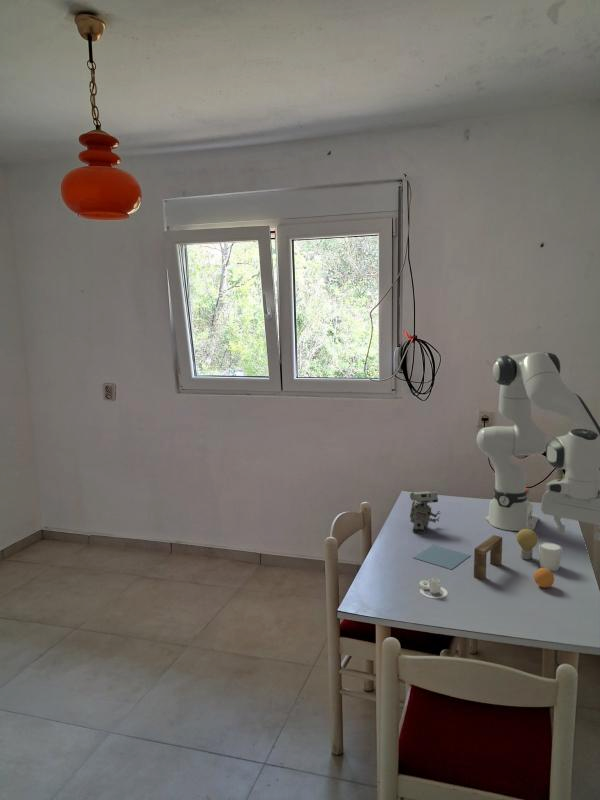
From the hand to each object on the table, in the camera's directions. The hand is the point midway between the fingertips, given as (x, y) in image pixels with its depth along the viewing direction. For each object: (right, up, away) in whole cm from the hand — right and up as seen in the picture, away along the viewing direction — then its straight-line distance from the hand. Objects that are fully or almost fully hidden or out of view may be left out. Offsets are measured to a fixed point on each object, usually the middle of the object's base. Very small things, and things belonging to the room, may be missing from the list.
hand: (579, 535), depth 152 cm
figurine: (-31, -12, +56) cm, 65 cm away
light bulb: (-3, -15, +28) cm, 32 cm away
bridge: (-19, -16, +20) cm, 32 cm away
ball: (-6, -15, +8) cm, 18 cm away
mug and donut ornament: (-38, -19, +9) cm, 43 cm away
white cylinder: (+2, -16, +22) cm, 27 cm away
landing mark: (-31, -15, +30) cm, 46 cm away
